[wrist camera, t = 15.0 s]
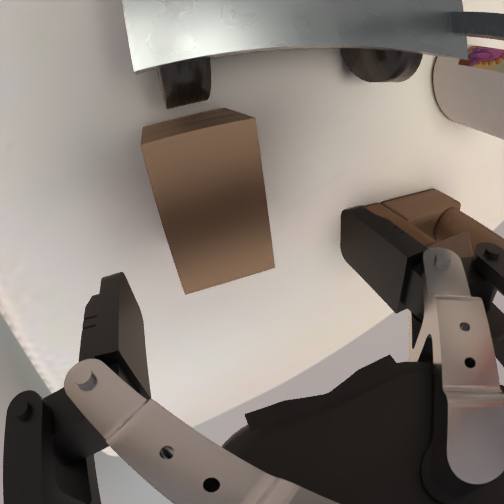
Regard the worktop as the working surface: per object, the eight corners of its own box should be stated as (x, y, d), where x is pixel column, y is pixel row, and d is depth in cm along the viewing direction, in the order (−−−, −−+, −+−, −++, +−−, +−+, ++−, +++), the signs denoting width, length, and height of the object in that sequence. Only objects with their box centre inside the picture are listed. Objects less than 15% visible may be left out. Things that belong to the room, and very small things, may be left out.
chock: (143, 127, 17) (140, 144, 12) (224, 107, 18) (255, 117, 13) (173, 241, 21) (185, 294, 16) (243, 222, 22) (274, 267, 17)
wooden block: (344, 209, 24) (526, 370, 10) (434, 187, 26) (587, 290, 12) (343, 249, 26) (496, 410, 12) (430, 220, 28) (567, 328, 14)
